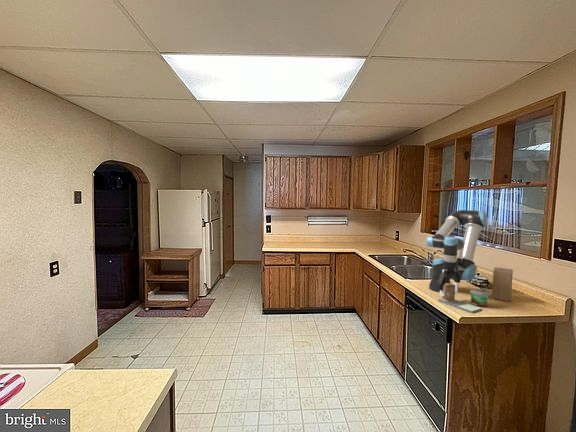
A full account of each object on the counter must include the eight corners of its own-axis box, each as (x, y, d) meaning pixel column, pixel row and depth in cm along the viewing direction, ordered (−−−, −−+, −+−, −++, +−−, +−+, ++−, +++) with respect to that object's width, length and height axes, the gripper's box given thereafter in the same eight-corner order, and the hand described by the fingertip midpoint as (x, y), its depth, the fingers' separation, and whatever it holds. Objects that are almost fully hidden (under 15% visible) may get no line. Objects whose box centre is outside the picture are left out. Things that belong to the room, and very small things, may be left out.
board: (438, 301, 181) (438, 299, 181) (447, 299, 185) (447, 297, 185) (471, 313, 162) (471, 310, 162) (481, 310, 166) (481, 308, 166)
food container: (478, 308, 169) (479, 292, 168) (469, 305, 175) (470, 289, 174) (493, 307, 172) (494, 291, 172) (484, 303, 178) (485, 288, 178)
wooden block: (492, 295, 195) (494, 266, 193) (511, 298, 188) (512, 269, 187) (491, 298, 187) (493, 269, 186) (510, 302, 180) (512, 272, 179)
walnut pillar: (442, 299, 181) (442, 284, 180) (447, 298, 183) (447, 283, 182) (449, 301, 176) (450, 286, 176) (454, 300, 179) (455, 285, 178)
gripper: (443, 264, 169) (441, 298, 171) (467, 260, 181) (466, 292, 182) (431, 262, 176) (430, 294, 177) (456, 258, 187) (454, 289, 189)
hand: (448, 293), depth 180 cm, fingers open, 13 cm apart
